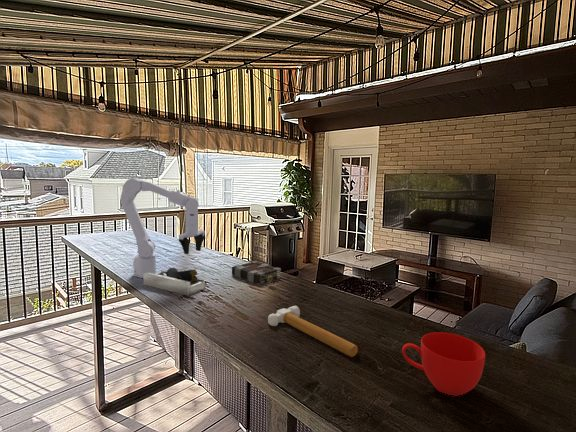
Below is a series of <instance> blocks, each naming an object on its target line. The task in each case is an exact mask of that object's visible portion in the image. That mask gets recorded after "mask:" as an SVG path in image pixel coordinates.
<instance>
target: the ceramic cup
mask: <svg viewBox="0 0 576 432" xmlns="http://www.w3.org/2000/svg"><path fill="white" fill-rule="evenodd" d="M408 348H411V349H415V350H416V351H417V352H418V353H419V355H420V358H421V364H420V363H418V362H415V361H414V360H412V358H409V357H408V355H407V353H406V350H407V349H408ZM401 352H402V356H403V358H404V359H405V361H406V362H407V363H409V364H410V365H412V366H413V367H415V368H417V369H419V370H422V371H424V374H425V376H426V377H427V379H428V380H429V382H430V383H431V384H432V386H433V387H434V388H435V390H437V391H438V392H439V393H441V392H442V393H441V394H443V393H445V394H444V395H446V394H448V395H447V396H449V395H454V396H453V397H455V396H458V395H462V396H463V394H464V395H465V394H467V393H468V392H470V391H472V390H473V389H475V387H476V385H478V383H479V382H480V380H481V378H482V375H483V372H484V367H485V362H486V352H485V350H484V348H483V347H482V346H481V345H480V344H478V343H477V342H475V341H473V340H472V339H469V338H467V337H465V336H461V335H458V334H455V333H449V332H439V331H438V332H430V333H426V334H424V335H423V336H422V337H421V340H420V346H418V345H416V344H414V343H410V342H408V343H405V344H404V345H403V346H402V348H401ZM458 397H459V396H458Z"/></svg>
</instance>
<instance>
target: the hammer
mask: <svg viewBox="0 0 576 432" xmlns="http://www.w3.org/2000/svg"><path fill="white" fill-rule="evenodd" d="M300 315H301V310H300V308H299V307H298V306H297V305H293V306H290V307H288V308H280V309H278V310H276V313H270V314H269V315H268V317H267V322H268V324H269V325H270V326H272V327H276V326H278V324H279V323H281V324H285V323H286V324H288V325H289V326H291V327H293V328H295V329H297V330H299V331H300V332H303V333H305V334H306V335H308V336H310V337H312V338H314V339H315V340H318V341H320V342H321V343H323V344H325V345H327V346H329V347H331V348H333V349H335V350H336V351H338V352H340V353H342V354H344V355H346V356H348V357H351V358H353V357H355V356H357V354H358V346H357V345H356V344H354V343H352V342H351V341H348V340H346V339H345V338H342V337H340V336H338V335H336V334H334V333H332V332H330V331H328V330H325V329H324V328H322V327H320V326H318V325H316V324H313V323H311V322H309V321H307V320H305V319H303V318H301V317H300Z"/></svg>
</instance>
